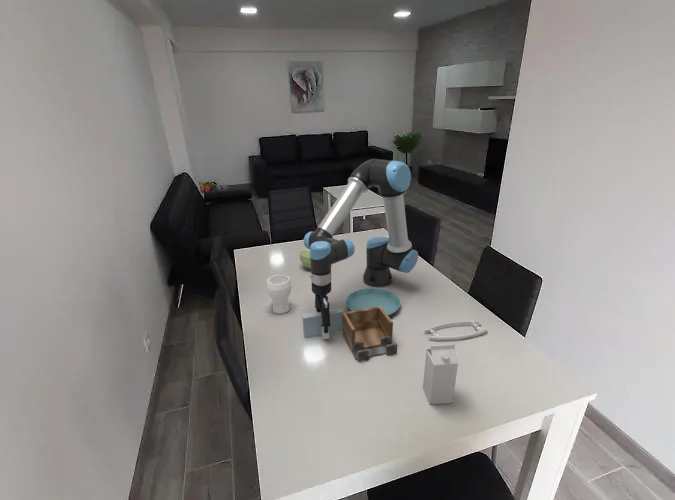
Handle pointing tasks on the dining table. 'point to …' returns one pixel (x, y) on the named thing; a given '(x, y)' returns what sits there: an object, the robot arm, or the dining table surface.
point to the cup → (279, 292)
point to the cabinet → (368, 333)
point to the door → (315, 321)
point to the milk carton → (440, 373)
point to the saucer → (373, 300)
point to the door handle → (452, 338)
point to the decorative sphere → (305, 257)
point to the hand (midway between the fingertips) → (323, 332)
